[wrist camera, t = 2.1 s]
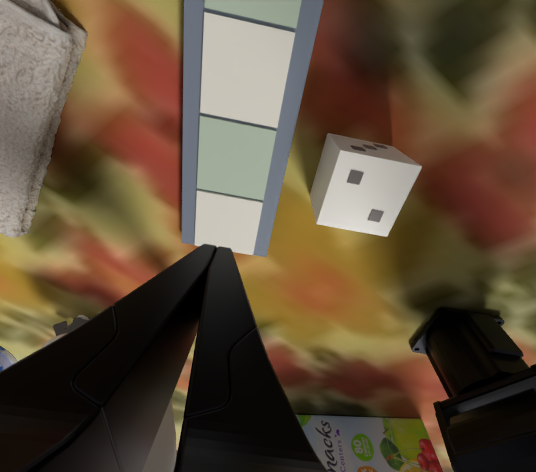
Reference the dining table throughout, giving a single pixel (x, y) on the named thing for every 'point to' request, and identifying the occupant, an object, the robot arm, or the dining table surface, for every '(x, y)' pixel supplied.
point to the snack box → (370, 443)
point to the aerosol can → (6, 359)
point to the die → (361, 185)
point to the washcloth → (31, 100)
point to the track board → (240, 114)
